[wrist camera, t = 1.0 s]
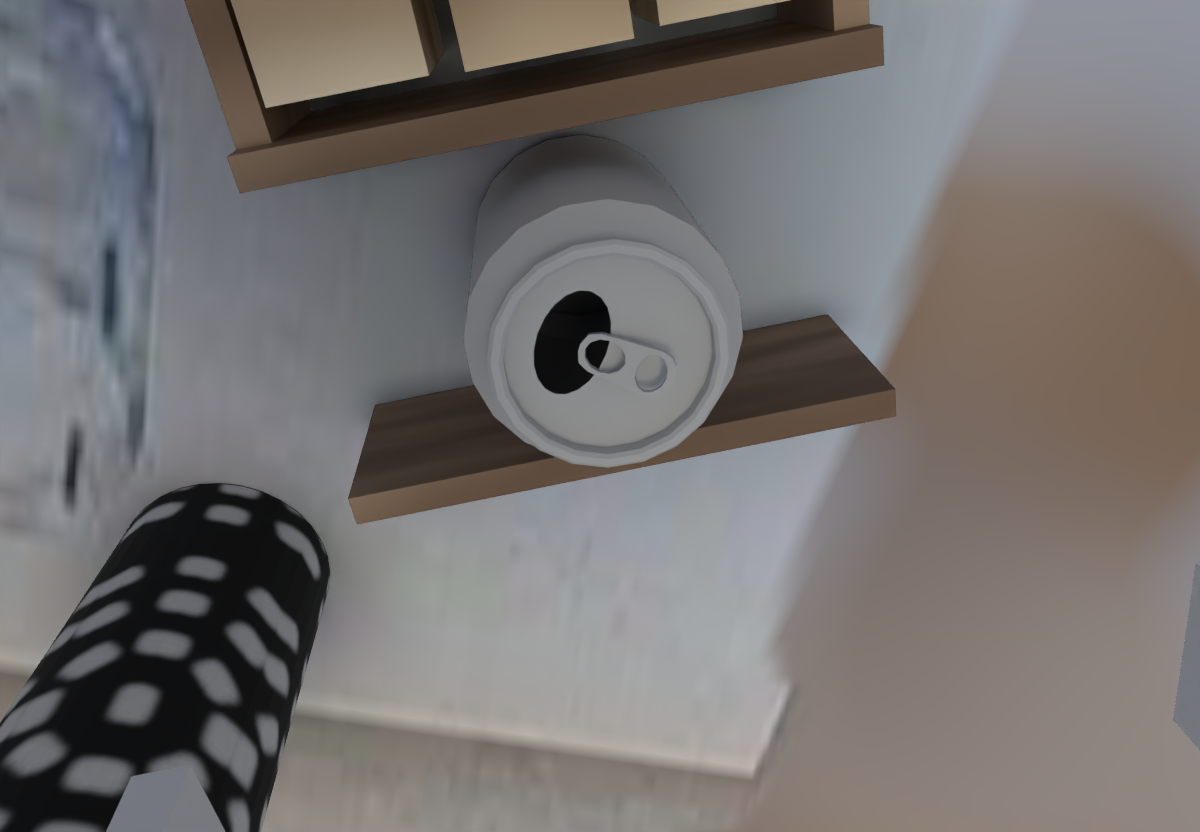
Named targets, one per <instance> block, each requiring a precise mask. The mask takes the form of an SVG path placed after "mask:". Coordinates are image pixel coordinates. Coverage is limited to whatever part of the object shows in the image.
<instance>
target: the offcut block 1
mask: <svg viewBox="0 0 1200 832" xmlns="http://www.w3.org/2000/svg"><path fill="white" fill-rule="evenodd" d="M231 3H232V6H233V9H234V12H235V15H236V18H237V21H238V24H239V28H240V31H241V34H242V37H243V40H244V43H245V46H246V49H247V52H248V55H249V58H250V61H251V64H252V67H253V70H254V73H255V76H256V79H257V83H258V86H259V89H260V92H261V95H262V98H263V101H264V104H265V107H266V108H268V107H274V106H279V105H284V104H289V103H294V102H299V101H304V100H309V99H314V98H319V97H324V96H329V95H334V94H339V93H344V92H349V91H354V90H359V89H364V88H369V87H374V86H379V85H384V84H389V83H394V82H399V81H404V80H410V79H415V78H420V77H425V76H429V75H430V73H431V72H432V70H433V69H434V67H435V66H436V64H437V63H438V61H439V60H440V58H441V56H442V55H443V53H444V48H443V44H442V39H441V35H440V31H439V27H438V22H437V18H436V14H435V10H434V6H433V1H432V0H231Z"/></svg>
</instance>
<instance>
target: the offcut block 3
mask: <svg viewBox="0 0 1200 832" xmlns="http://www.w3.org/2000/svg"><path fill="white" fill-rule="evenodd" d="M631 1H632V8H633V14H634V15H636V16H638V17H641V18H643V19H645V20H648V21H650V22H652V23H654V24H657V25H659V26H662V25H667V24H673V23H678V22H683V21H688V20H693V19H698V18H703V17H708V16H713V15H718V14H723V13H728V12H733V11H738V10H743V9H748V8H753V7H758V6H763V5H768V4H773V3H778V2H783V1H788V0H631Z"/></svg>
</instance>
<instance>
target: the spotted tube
mask: <svg viewBox="0 0 1200 832" xmlns="http://www.w3.org/2000/svg"><path fill="white" fill-rule="evenodd" d="M329 578H330V569H329V563H328V557H327V554H326V552H325V549H324V547H323V544H322V542H321V540H320V538H319V537H318V535H317V534H316V532H315V531H314V529H313V528H312V526H311V525H310V524H309V523H308V522H307V521H306V520H305V519H304V518H303V517H302V516H301V515H300V514H299V513H298V512H296V511H295V510H293V509H292V508H290V507H289V506H287V505H286V504H285V503H283V502H282V501H280V500H278V499H276V498H274V497H271V496H269V495H267V494H265V493H263V492H260V491H256V490H253V489H249V488H246V487H242V486H235V485H227V484H201V485H195V486H190V487H186V488H181V489H178V490H175V491H173V492H171V493H168V494H166V495H164V496H161V497H160V498H158V499H157V500H155V501H154V502H152V503H151V504H150V505H148V506H147V507H145V509H144V510H143V511H142V512H141V513H140V514H139V515H138V516H137V517H136V518H135V519H134V521H133V522H132V524H131V525H130V527H129V528H128V530H127V531H126V533H125V534H124V536H123V538H122V539H121V541H120V542H119V544H118V545H117V547H116V548H115V550H114V551H113V553H112V554H111V556H110V557H109V559H108V560H107V562H106V563H105V565H104V566H103V568H102V569H101V571H100V572H99V574H98V575H97V577H96V578H95V580H94V582H93V583H92V585H91V586H90V588H89V589H88V591H87V592H86V594H85V595H84V597H83V598H82V600H81V601H80V603H79V604H78V606H77V607H76V609H75V610H74V612H73V613H72V615H71V616H70V618H69V619H68V621H67V622H66V624H65V625H64V627H63V629H62V630H61V632H60V633H59V635H58V636H57V638H56V639H55V641H54V642H53V644H52V645H51V647H50V648H49V650H48V651H47V653H46V654H45V656H44V657H43V659H42V660H41V662H40V663H39V665H38V666H37V668H36V669H35V671H34V673H33V674H32V676H31V677H30V679H29V680H28V682H27V683H26V685H25V686H24V688H23V689H22V691H21V692H20V694H19V695H18V697H17V698H16V700H15V701H14V703H13V704H12V706H11V707H10V709H9V710H8V712H7V713H6V715H5V717H4V718H3V720H2V721H1V723H0V832H106V831H107V829H108V826H109V824H110V822H111V820H112V818H113V816H114V813H115V811H116V809H117V807H118V805H119V802H120V800H121V798H122V796H123V794H124V791H125V789H126V787H127V785H128V783H129V781H130V778H131V776H136V775H141V774H146V773H151V772H156V771H161V770H166V769H171V768H176V767H181V766H186V765H191V767H192V769H193V771H194V772H195V774H196V776H197V778H198V780H199V782H200V784H201V786H202V788H203V790H204V792H205V794H206V795H207V797H208V799H209V801H210V803H211V805H212V807H213V809H214V811H215V813H216V815H217V816H218V818H219V820H220V822H221V824H222V826H223V828H224V830H225V832H261V829H262V825H263V821H264V818H265V814H266V811H267V807H268V803H269V800H270V796H271V793H272V789H273V786H274V782H275V778H276V775H277V771H278V768H279V764H280V760H281V757H282V753H283V750H284V746H285V743H286V739H287V735H288V732H289V728H290V725H291V721H292V717H293V714H294V710H295V707H296V703H297V700H298V696H299V692H300V689H301V685H302V682H303V678H304V674H305V671H306V667H307V664H308V660H309V656H310V653H311V649H312V646H313V642H314V639H315V635H316V631H317V628H318V624H319V621H320V617H321V613H322V610H323V606H324V603H325V599H326V596H327V592H328V588H329Z"/></svg>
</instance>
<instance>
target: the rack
mask: <svg viewBox="0 0 1200 832" xmlns="http://www.w3.org/2000/svg"><path fill="white" fill-rule="evenodd" d="M184 1H185V3H186V6H187V9H188V12H189V15H190V18H191V21H192V24H193V26H194V29H195V32H196V35H197V38H198V41H199V44H200V47H201V49H202V52H203V55H204V58H205V61H206V64H207V67H208V70H209V72H210V75H211V78H212V81H213V84H214V87H215V90H216V92H217V95H218V98H219V101H220V104H221V107H222V110H223V113H224V115H225V118H226V121H227V124H228V127H229V130H230V133H231V136H232V138H233V141H234V144H235V147H236V151H234V152H233V153H232V154H230V155H229V156H227V158H228V161H229V164H230V167H231V170H232V173H233V175H234V178H235V181H236V184H237V187H238V189H239V192H240V193H244V192H249V191H254V190H259V189H265V188H270V187H275V186H280V185H285V184H290V183H295V182H300V181H305V180H310V179H315V178H320V177H325V176H330V175H335V174H340V173H345V172H350V171H355V170H360V169H365V168H370V167H375V166H380V165H385V164H390V163H395V162H400V161H405V160H410V159H415V158H420V157H425V156H430V155H435V154H440V153H445V152H450V151H455V150H460V149H465V148H470V147H475V146H480V145H485V144H490V143H495V142H500V141H505V140H510V139H515V138H521V137H526V136H531V135H536V134H541V133H546V132H551V131H556V130H561V129H566V128H571V127H576V126H581V125H586V124H591V123H596V122H601V121H606V120H611V119H616V118H621V117H626V116H631V115H636V114H641V113H646V112H651V111H656V110H661V109H666V108H671V107H676V106H681V105H686V104H691V103H696V102H701V101H706V100H711V99H716V98H721V97H726V96H731V95H736V94H741V93H746V92H751V91H756V90H761V89H766V88H771V87H776V86H782V85H787V84H792V83H797V82H802V81H807V80H812V79H817V78H822V77H827V76H832V75H837V74H842V73H847V72H852V71H857V70H862V69H867V68H872V67H877V66H882V65H884V49H883V26H878V25H873V24H870V19H869V0H788V1H783V2H778V3H777V12H778V19H773V20H768V21H763V22H758V23H753V24H748V25H743V26H738V27H733V28H728V29H722V30H717V31H712V32H707V33H702V34H697V35H692V36H687V37H682V38H677V39H672V40H667V41H662V42H657V43H652V44H647V45H642V46H637V47H632V48H627V49H622V50H617V51H612V52H607V53H602V54H597V55H592V56H587V57H582V58H577V59H572V60H567V61H562V62H557V63H552V64H547V65H542V66H536V67H531V68H526V69H521V70H516V71H511V72H506V73H501V74H496V75H491V76H486V77H481V78H476V79H471V80H466V81H461V82H456V83H451V84H446V85H441V86H436V87H431V88H426V89H421V90H416V91H411V92H406V93H401V94H396V95H391V96H386V97H381V98H376V99H371V100H366V101H361V102H356V103H350V104H345V105H340V106H335V107H330V108H325V109H320V110H315V111H312V110H311V107H310V104H309V101H308V100H304V101H299V102H294V103H289V104H284V105H279V106H274V107H268V108H266V107H265V104H264V101H263V98H262V95H261V92H260V89H259V86H258V83H257V79H256V76H255V73H254V70H253V67H252V64H251V61H250V58H249V55H248V52H247V49H246V46H245V43H244V40H243V37H242V34H241V31H240V28H239V24H238V21H237V18H236V15H235V12H234V9H233V6H232V3H231V0H184ZM895 398H896V397H895V388H894V387H893V386H892V385H891V384H890V383H889V382H888V381H887V379H886V378H885V377H884V376H883V375H882V374H881V373H880V372H879V371H878V370H877V368H876V367H875V366H874V365H873V364H872V363H871V362H870V361H869V360H868V358H867V357H866V356H865V355H864V354H863V353H862V352H861V351H860V350H859V349H858V347H857V346H856V345H855V344H854V343H853V342H852V341H851V340H850V339H849V338H848V336H847V335H846V334H845V333H844V332H843V331H842V330H841V329H840V328H839V327H838V325H837V324H836V323H835V322H834V321H833V320H832V319H831V318H830V317H829V316H828V315H824V316H819V317H814V318H809V319H804V320H799V321H794V322H789V323H784V324H779V325H774V326H769V327H764V328H759V329H754V330H749V331H744V332H743V338H742V342H741V346H740V350H739V354H738V358H737V362H736V366H735V370H734V373H733V377H732V378H731V380H730V381H729V383H728V385H727V386H726V388H725V389H724V391H723V393H722V394H721V396H720V398H719V399H718V401H717V402H716V404H715V406H714V407H713V409H712V410H711V412H710V414H709V415H708V417H707V418H706V420H705V422H704V423H703V424H702V425H700V426H699V427H698V428H697V429H696V430H695V431H694V432H692V433H691V434H690V435H689V436H688V437H687V438H686V439H684V440H683V441H682V442H681V443H680V444H679V445H678V446H676V447H674V448H672V449H670V450H667V451H665V452H663V453H661V454H659V455H657V456H655V457H653V458H650V459H648V460H646V461H644V462H639V463H633V464H627V465H621V466H615V467H609V468H607V467H597V466H588V465H579V464H571V463H569V462H567V461H564V460H562V459H559V458H557V457H555V456H552V455H550V454H548V453H545V452H543V451H540V450H539V449H537V448H536V447H535V446H533V445H530V444H528V443H526V442H524V441H523V440H521V439H520V438H519V437H518V436H517V435H515V434H514V433H513V432H512V431H511V430H510V429H508V428H507V427H506V426H505V425H504V424H502V423H501V422H500V421H499V420H498V419H496V418H495V417H494V416H493V414H492V413H491V411H490V409H489V408H488V406H487V405H486V403H485V401H484V400H483V398H482V397H481V395H480V393H479V392H478V390H477V388H476V387H475V385H474V386H469V387H464V388H459V389H454V390H449V391H444V392H439V393H434V394H429V395H424V396H419V397H414V398H409V399H404V400H399V401H394V402H389V403H384V404H379V405H375V407H374V411H373V414H372V418H371V421H370V425H369V428H368V432H367V435H366V439H365V442H364V445H363V449H362V452H361V456H360V459H359V463H358V466H357V470H356V473H355V477H354V480H353V483H352V487H351V490H350V494H349V497H348V500H349V503H350V506H351V509H352V511H353V514H354V517H355V520H356V523H357V524H362V523H367V522H372V521H377V520H382V519H387V518H392V517H397V516H402V515H407V514H412V513H417V512H421V511H426V510H431V509H436V508H441V507H446V506H451V505H456V504H461V503H466V502H471V501H476V500H481V499H486V498H491V497H496V496H501V495H506V494H511V493H516V492H521V491H526V490H531V489H536V488H541V487H546V486H551V485H556V484H561V483H566V482H571V481H576V480H581V479H586V478H591V477H596V476H601V475H606V474H611V473H616V472H621V471H626V470H631V469H636V468H641V467H646V466H651V465H656V464H661V463H665V462H670V461H675V460H680V459H685V458H690V457H695V456H700V455H705V454H710V453H715V452H720V451H725V450H730V449H735V448H740V447H745V446H750V445H755V444H760V443H765V442H770V441H775V440H780V439H785V438H790V437H795V436H800V435H805V434H810V433H815V432H820V431H825V430H830V429H835V428H840V427H845V426H850V425H855V424H860V423H865V422H870V421H874V420H880V419H884V418H890V417H895V416H896V399H895Z"/></svg>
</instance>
